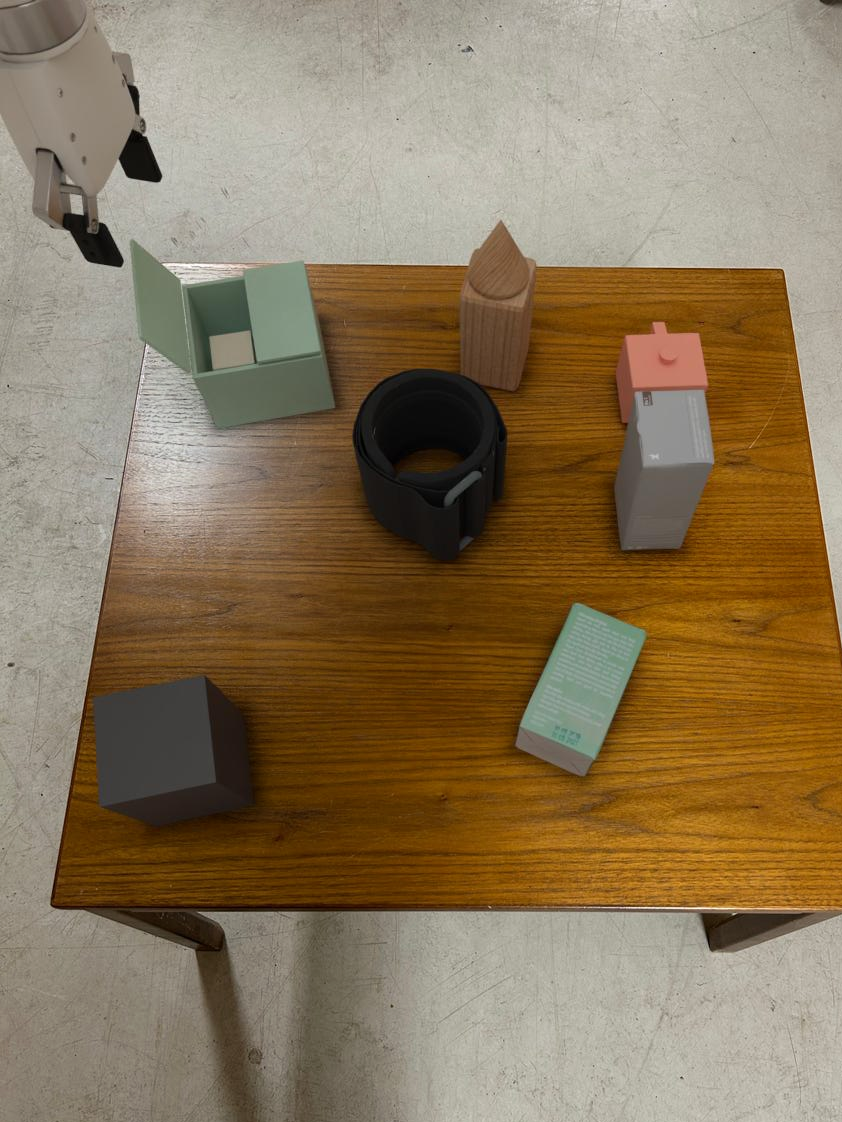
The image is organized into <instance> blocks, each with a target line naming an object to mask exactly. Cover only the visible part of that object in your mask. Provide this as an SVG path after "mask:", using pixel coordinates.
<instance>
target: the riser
mask: <svg viewBox="0 0 842 1122" xmlns="http://www.w3.org/2000/svg"><path fill="white" fill-rule="evenodd" d="M92 705H93V706H92V707H93V722H94V725H93V726H94V739H95V740H94V741H95V759H96V774H97V791H98V792H97V793H98V795H97V796H98V807H99V808H101V809H105V810H108V811H109V812H112V813H116V814H118V815H122V816H125V817H127V818H131V819H133V820H137V821H139V822H142V823H145V824H147V825H151V826H154V827H161V826H166V825H170V824H175V823H180V822H184V821H188V820H193V819H197V818H202V817H206V816H207V817H208V816H212V815H216V814H221V813H227V812H229V811H230V812H231V811H235V810H240V809H244V808H249V807H253V806H255V798H254V787H253V780H252V774H251V773H252V772H251V764H250V756H249V749H248V741H247V740H248V739H247V731H246V725H245V723H246V722H245V716H244V712H243V711H242V710H241V709H240V708H239V707H238V706H237V705H236V703H234V702H233V701H231V699H230V698H229V697H228V696H227V695H226V694H225V693H224V692H223V691H221V690H220V688H218V686H217V685H215V684H214V682H213V681H212V680H211V679H209V678H208V677H207V675H205V674H202V675H197V676H191V677H187V678H182V679H177V680H173V681H167V682H162V683H158V684H153V685H147V686H143V687H138V688H132V689H128V690H127V689H126V690H123V691H117V692H112V693H107V694H103V695H97V696H93V697H92Z"/></svg>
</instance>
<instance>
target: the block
mask: <svg viewBox="0 0 842 1122" xmlns="http://www.w3.org/2000/svg"><path fill="white" fill-rule="evenodd" d="M209 339H210V349H211V358H212V367H213V371H216V370H222V369H228V368H234V367H240V366H246V365H252V364H258V363H257V359H256V353H255V346H254V340H253V337H252V334H251V331H250V330H249V331H243V332H236V333H230V334H223V335H217V336H210V337H209Z"/></svg>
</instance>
